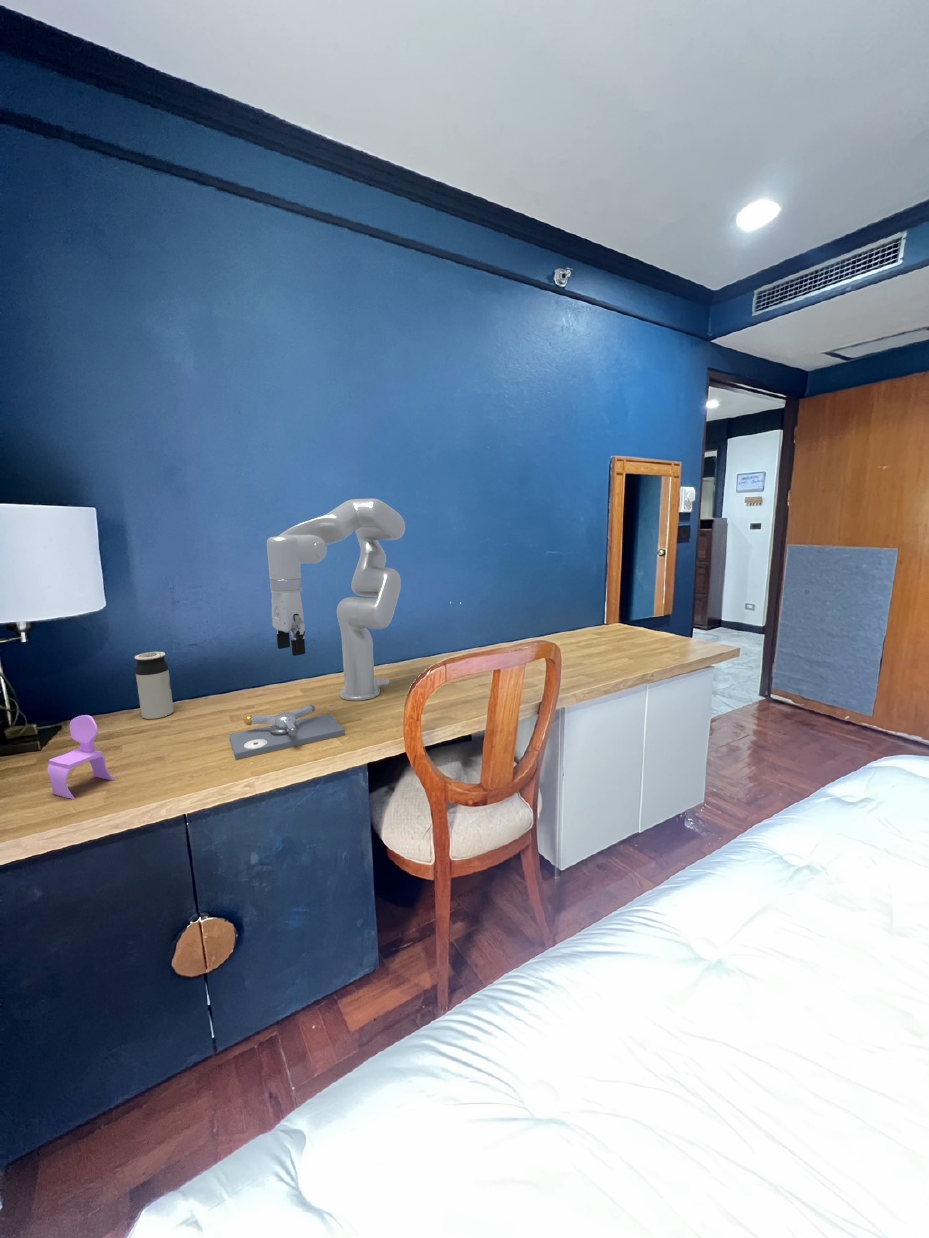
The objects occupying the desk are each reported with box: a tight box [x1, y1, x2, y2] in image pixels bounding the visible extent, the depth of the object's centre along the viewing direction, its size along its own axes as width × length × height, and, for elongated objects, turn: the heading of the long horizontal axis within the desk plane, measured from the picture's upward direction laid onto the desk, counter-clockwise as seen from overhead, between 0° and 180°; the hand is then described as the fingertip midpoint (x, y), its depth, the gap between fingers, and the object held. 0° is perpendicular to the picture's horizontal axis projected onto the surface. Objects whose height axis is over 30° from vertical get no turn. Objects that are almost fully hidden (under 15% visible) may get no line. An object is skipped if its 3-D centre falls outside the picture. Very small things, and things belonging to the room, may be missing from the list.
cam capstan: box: [243, 704, 316, 736], centre depth 128 cm, size 16×17×4 cm
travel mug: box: [134, 651, 175, 720], centre depth 143 cm, size 8×8×18 cm
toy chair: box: [47, 714, 115, 800], centre depth 103 cm, size 8×9×15 cm
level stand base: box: [228, 713, 345, 760], centre depth 128 cm, size 26×13×2 cm, turn 121°
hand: (291, 651), depth 129 cm, fingers open, 9 cm apart
